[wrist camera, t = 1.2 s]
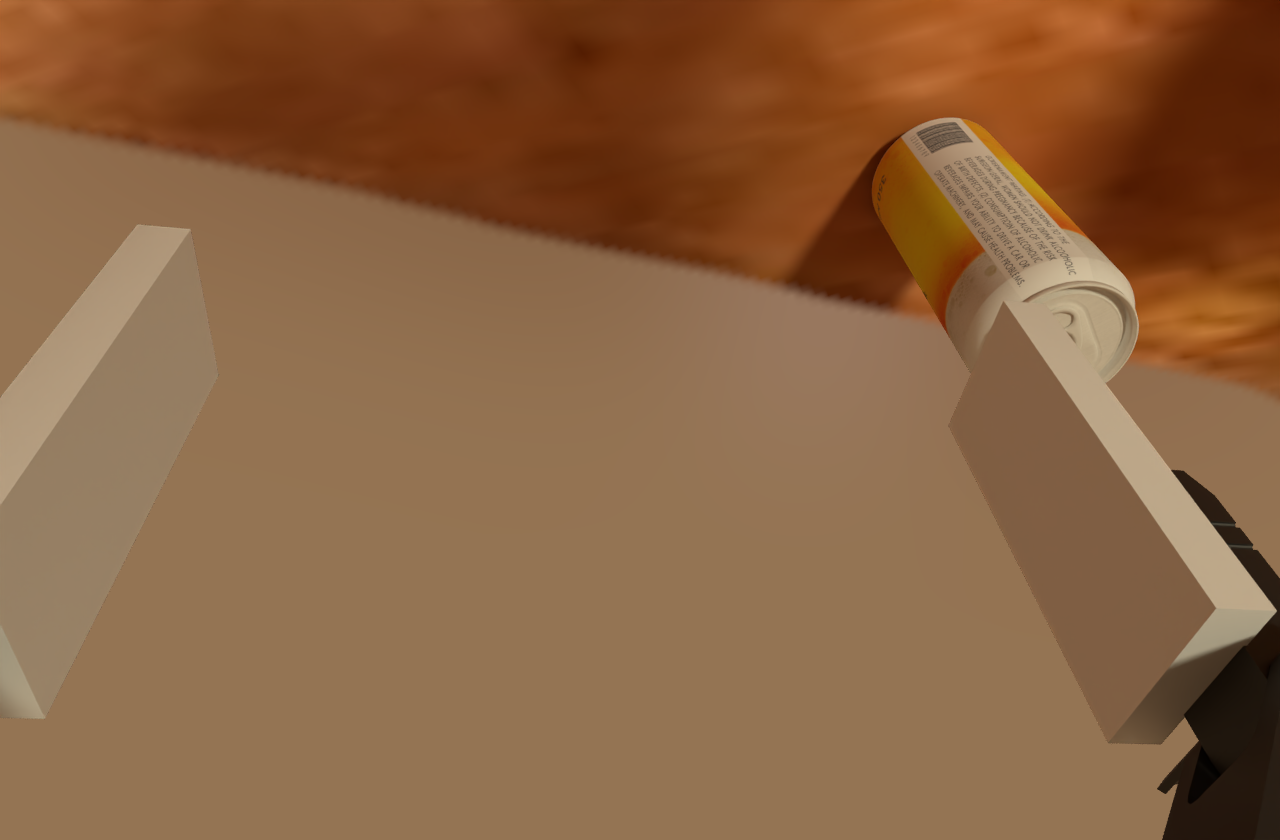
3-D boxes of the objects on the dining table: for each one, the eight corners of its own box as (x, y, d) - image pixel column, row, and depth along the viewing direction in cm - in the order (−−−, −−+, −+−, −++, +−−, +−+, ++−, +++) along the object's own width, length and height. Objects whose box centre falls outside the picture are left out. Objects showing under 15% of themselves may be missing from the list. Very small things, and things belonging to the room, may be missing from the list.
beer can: (884, 249, 46) (991, 438, 35) (853, 143, 43) (960, 315, 31) (1003, 202, 45) (1156, 381, 34) (981, 89, 42) (1144, 246, 30)
